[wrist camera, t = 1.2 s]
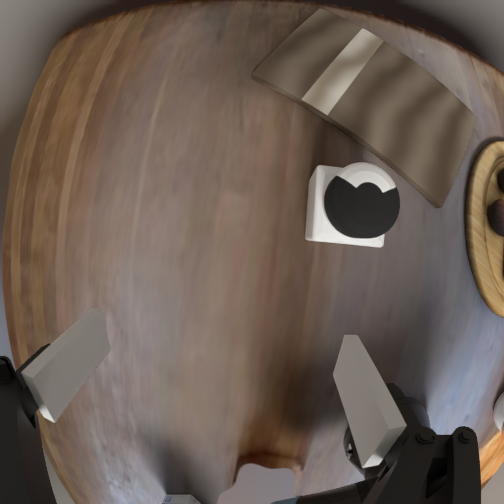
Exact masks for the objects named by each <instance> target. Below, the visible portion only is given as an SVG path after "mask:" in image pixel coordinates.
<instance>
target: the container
mask: <svg viewBox="0 0 504 504" xmlns="http://www.w3.org/2000/svg"><path fill="white" fill-rule="evenodd" d="M399 209H400V199H399V193H398V190H397V187H396V185H395V183H394V181H393V180H392V178H391V177H390V176H389V175H388V174H387V173H386V172H385V171H384V170H383V169H381V168H380V167H378V166H376V165H373V164H370V163H364V162H359V163H353V164H350V165H348V166H346V167H344V168H340V167H332V166H324V165H318V166H317V167H316V169H315V171H314V173H313V175H312V176H311V178H310V180H309V186H308V202H307V217H306V230H305V239H306V240H309V241H320V242H330V243H340V244H350V245H360V246H371V247H382V246H383V245H384V234H385V233H386V232H387V231H388V230H390V228H391V227H392V226H393V225H394V223H395V221H396V219H397V217H398V214H399Z"/></svg>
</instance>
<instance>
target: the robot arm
mask: <svg viewBox="0 0 504 504" xmlns="http://www.w3.org/2000/svg"><path fill="white" fill-rule="evenodd" d="M110 350H111V349H110V344H109V339H108V334H107V328H106V323H105V317H104V311H103V310H102V309H97V308H92V309H90V310H89V311H88V312H87V313H86V314H85V315H83V316H82V317H81V318H80V319H79V320H78V321H76V322H75V323H74V324H73V325H72V326H71V327H70V328H68V329H67V330H66V331H65V332H64V333H63V334H62V335H61V336H59V337H58V338H57V339H56V340H55V341H54V342H53V343H52V344H50V343H49V344H47V345H45V346H43V347H41V348H40V349H39V350H38V351H37V352H36V354H34V355H32V356H31V358H29V359H28V360H27V361H26V362H25V363H24V364H23V365H22V366H21V367H20V368H19V369H17V370H16V371H15V370H14V368H13V365H12V363H11V360H10V359H9V358H8V357H6V356H0V504H57V503H56V500H55V496H54V493H53V490H52V487H51V483H50V479H49V475H48V471H47V467H46V463H45V459H44V453H43V448H42V442H41V436H40V429H39V422H38V416H37V414H36V411H37V410H38V409H39V410H40V411H41V413H42V415H43V417H45V418H47V419H49V420H50V421H52V422H54V423H55V422H56V421H57V419H58V418H59V417H60V415H61V414H62V412H63V411H64V410H65V408H66V407H67V406H68V404H69V403H70V402H71V400H72V399H73V398H74V396H75V395H76V394H77V392H78V391H79V390H80V388H81V387H82V386H83V384H84V383H85V382H86V380H87V379H88V378H89V377H90V375H91V374H92V373H93V371H94V370H95V369H96V368H97V366H98V365H99V364H100V363H101V361H102V360H103V359H104V358H105V356H106V355H107V354H108V353H109V351H110ZM333 377H334V380H335V383H336V386H337V389H338V392H339V395H340V398H341V401H342V404H343V407H344V410H345V414H346V417H347V420H348V423H349V426H350V427H349V429H348V430H347V432H346V434H345V437H344V449H345V452H346V456H347V458H348V459H349V461H350V462H351V463H352V464H353V465H354V466H355V467H356V468H357V469H358V470H359V471H360V472H361V473H362V474H363V476H364V477H365V480H364V481H361V482H358V483H354V484H351V485H347V486H344V487H340V488H336V489H332V490H328V491H324V492H320V493H315V494H310V495H305V496H297V497H295V498H291V499H286V500H280V501H275V502H273V503H271V504H481V475H480V460H479V450H478V442H477V436H476V433H475V432H474V431H473V430H472V429H470V428H469V427H465V426H462V427H458V428H456V429H455V431H454V432H453V433H452V435H436V433H435V432H434V431H433V430H432V429H431V428H430V422H429V417H428V413H427V411H426V410H425V408H424V407H423V406H422V404H421V403H420V402H419V401H417V400H416V399H413V398H410V397H405V396H404V394H403V392H402V391H401V389H400V388H398V387H397V386H396V385H395V384H394V383H391V384H385V383H384V381H383V379H382V377H381V376H380V374H379V372H378V370H377V368H376V367H375V365H374V363H373V361H372V360H371V358H370V356H369V354H368V352H367V351H366V349H365V347H364V346H363V344H362V342H361V340H360V339H359V337H358V335H344V337H343V341H342V345H341V348H340V352H339V355H338V359H337V362H336V366H335V369H334V372H333Z"/></svg>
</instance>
